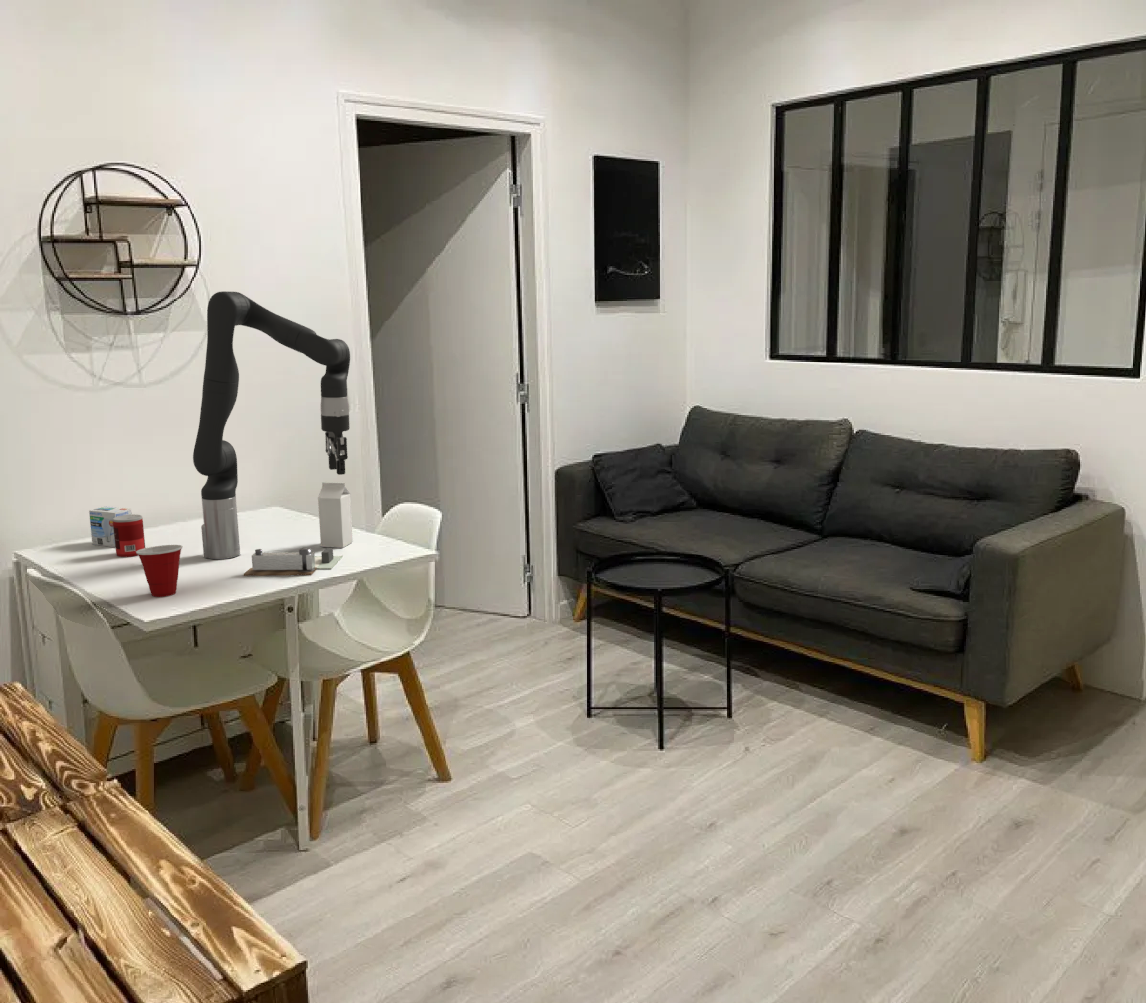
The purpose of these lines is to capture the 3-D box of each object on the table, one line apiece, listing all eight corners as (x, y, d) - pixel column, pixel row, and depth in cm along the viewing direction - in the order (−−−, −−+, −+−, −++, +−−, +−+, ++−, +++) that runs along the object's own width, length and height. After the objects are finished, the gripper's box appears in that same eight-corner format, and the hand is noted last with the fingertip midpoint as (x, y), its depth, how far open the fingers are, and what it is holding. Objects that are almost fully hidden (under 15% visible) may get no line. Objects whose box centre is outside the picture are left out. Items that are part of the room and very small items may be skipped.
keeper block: (322, 564, 278) (321, 552, 277) (326, 560, 283) (325, 548, 282) (329, 564, 278) (328, 552, 277) (333, 560, 283) (332, 548, 282)
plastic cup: (176, 585, 259) (172, 540, 257) (193, 593, 251) (189, 547, 249) (133, 593, 252) (128, 547, 249) (150, 602, 244) (145, 554, 242)
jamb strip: (243, 575, 267) (243, 572, 267) (250, 570, 273) (250, 566, 273) (311, 575, 267) (311, 572, 267) (317, 569, 273) (317, 566, 273)
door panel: (250, 570, 273) (250, 568, 273) (265, 557, 286) (265, 556, 286) (331, 569, 273) (331, 567, 273) (342, 557, 286) (342, 555, 285)
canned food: (151, 552, 294) (148, 515, 291) (129, 558, 287) (125, 521, 284) (132, 549, 297) (129, 513, 295) (110, 555, 290) (106, 518, 288)
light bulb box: (91, 544, 303) (87, 510, 301) (109, 540, 310) (105, 505, 307) (118, 547, 299) (114, 512, 297) (135, 542, 306) (132, 508, 303)
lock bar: (315, 566, 271) (314, 547, 270) (312, 569, 268) (311, 550, 267) (256, 567, 271) (254, 548, 270) (252, 570, 268) (251, 551, 267)
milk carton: (343, 548, 296) (339, 485, 292) (320, 547, 298) (317, 484, 294) (353, 542, 303) (349, 480, 299) (331, 541, 304) (327, 480, 301)
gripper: (315, 411, 277) (317, 468, 281) (327, 416, 265) (329, 477, 268) (341, 410, 281) (343, 467, 284) (355, 415, 268) (357, 475, 272)
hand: (337, 471), depth 276 cm, fingers open, 8 cm apart
